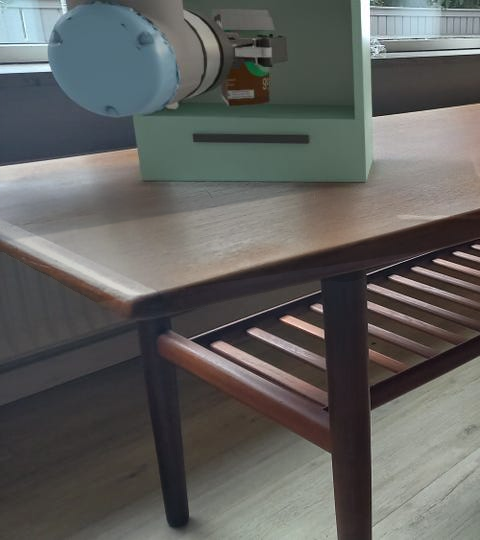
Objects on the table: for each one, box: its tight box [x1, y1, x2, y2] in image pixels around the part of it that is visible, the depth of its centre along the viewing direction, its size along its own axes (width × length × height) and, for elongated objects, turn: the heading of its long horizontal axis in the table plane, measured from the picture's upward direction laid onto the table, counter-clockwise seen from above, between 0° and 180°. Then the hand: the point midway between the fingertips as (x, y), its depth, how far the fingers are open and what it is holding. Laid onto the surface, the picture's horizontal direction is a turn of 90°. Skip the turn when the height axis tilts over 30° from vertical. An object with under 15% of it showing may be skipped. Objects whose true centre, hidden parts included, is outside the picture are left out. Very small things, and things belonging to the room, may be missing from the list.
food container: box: [212, 9, 275, 106], centre depth 79 cm, size 12×6×10 cm, turn 24°
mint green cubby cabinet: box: [132, 0, 374, 183], centre depth 91 cm, size 17×28×25 cm, turn 95°
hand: (241, 45), depth 81 cm, fingers closed on food container, 6 cm apart
